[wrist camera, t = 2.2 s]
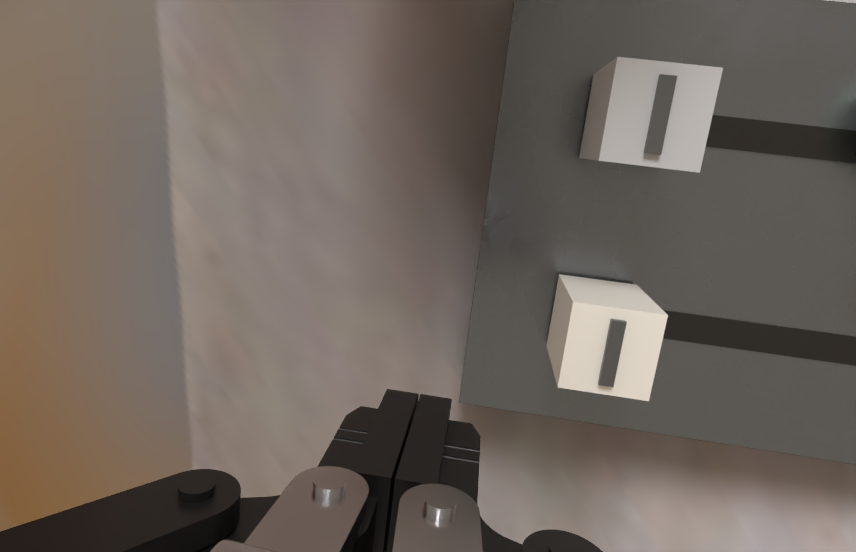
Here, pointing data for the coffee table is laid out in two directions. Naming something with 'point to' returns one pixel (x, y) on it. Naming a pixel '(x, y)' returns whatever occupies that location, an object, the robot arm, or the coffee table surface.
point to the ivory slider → (605, 337)
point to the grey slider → (650, 113)
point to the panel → (683, 223)
